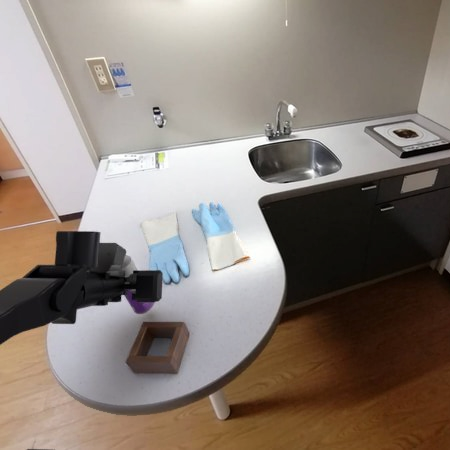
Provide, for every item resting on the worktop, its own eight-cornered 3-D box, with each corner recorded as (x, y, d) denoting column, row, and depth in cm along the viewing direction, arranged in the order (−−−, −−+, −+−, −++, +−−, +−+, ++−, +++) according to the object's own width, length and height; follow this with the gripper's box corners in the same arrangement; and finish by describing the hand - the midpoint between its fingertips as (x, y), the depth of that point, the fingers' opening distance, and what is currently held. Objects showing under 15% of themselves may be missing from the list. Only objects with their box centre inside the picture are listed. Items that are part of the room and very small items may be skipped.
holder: (177, 373, 65) (170, 362, 62) (133, 373, 65) (124, 362, 62) (189, 333, 72) (184, 321, 69) (150, 333, 73) (143, 321, 69)
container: (149, 314, 71) (125, 271, 61) (129, 314, 71) (102, 270, 61) (157, 298, 74) (135, 254, 65) (138, 297, 75) (114, 254, 65)
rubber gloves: (153, 294, 81) (145, 278, 77) (141, 224, 103) (134, 208, 99) (250, 259, 91) (248, 243, 86) (220, 202, 113) (217, 187, 109)
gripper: (142, 244, 54) (178, 246, 70) (39, 244, 55) (97, 246, 70) (139, 308, 53) (176, 295, 69) (34, 308, 53) (94, 295, 69)
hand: (136, 282), depth 69 cm, fingers closed on container, 4 cm apart
